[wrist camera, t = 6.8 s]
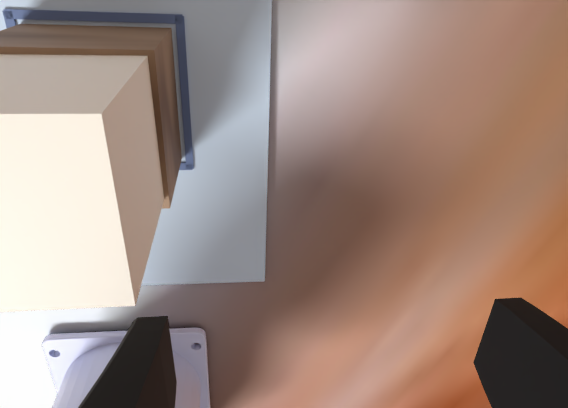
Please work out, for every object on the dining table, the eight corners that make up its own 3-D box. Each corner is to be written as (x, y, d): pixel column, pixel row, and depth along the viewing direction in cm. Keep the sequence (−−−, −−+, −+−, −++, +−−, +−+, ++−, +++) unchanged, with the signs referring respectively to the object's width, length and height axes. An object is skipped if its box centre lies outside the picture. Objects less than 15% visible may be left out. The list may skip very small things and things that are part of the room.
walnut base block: (181, 158, 18) (170, 208, 15) (52, 159, 18) (8, 210, 14) (171, 27, 16) (154, 50, 12) (20, 23, 15) (-42, 45, 12)
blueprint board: (264, 276, 22) (265, 282, 22) (6, 284, 21) (1, 291, 20) (276, -205, 13) (277, -211, 13) (-174, -244, 12) (-190, -252, 11)
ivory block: (164, 199, 14) (135, 305, 10) (17, 202, 14) (-79, 315, 10) (147, 55, 12) (101, 113, 8) (-29, 53, 12) (-179, 114, 7)
